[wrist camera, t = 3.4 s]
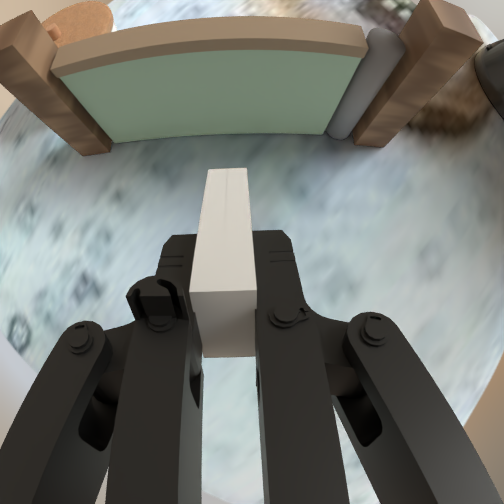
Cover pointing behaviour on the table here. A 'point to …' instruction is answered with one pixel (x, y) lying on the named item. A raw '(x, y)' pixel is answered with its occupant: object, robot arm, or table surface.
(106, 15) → the lidded jar
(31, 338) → the table surface
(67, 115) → the gate posts
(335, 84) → the gate
